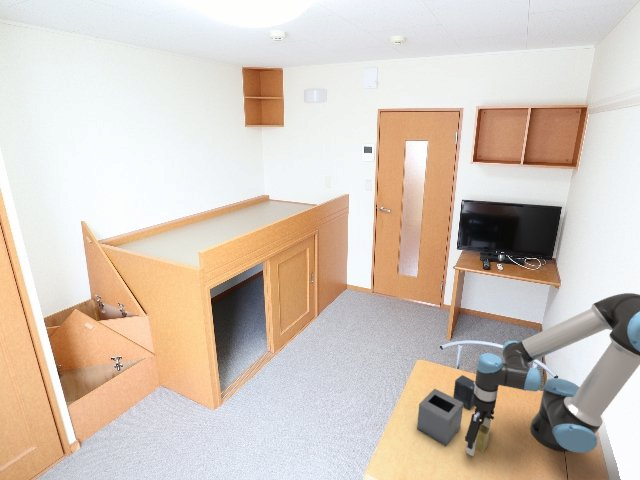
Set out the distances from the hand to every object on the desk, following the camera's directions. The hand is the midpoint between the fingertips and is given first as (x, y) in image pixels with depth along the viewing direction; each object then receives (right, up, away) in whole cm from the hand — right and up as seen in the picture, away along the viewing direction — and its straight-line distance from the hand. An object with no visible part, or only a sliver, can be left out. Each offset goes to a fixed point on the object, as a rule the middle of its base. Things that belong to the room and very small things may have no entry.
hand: (477, 442), depth 143 cm
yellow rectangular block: (0, -1, 0) cm, 1 cm away
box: (+3, +6, +21) cm, 22 cm away
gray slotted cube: (-12, +2, +7) cm, 14 cm away
